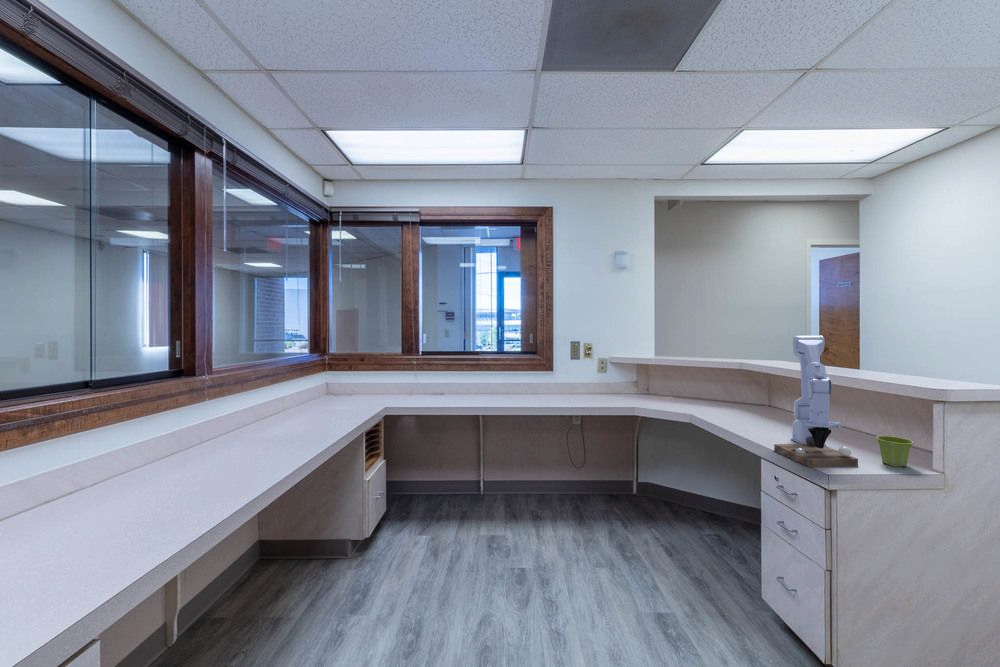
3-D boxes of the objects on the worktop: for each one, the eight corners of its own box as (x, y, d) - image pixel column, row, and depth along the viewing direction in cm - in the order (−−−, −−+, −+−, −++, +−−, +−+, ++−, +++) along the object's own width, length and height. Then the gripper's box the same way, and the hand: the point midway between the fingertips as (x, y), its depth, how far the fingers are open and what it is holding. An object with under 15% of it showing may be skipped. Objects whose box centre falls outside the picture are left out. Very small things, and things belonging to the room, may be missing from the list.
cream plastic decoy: (835, 455, 147) (835, 445, 146) (845, 454, 147) (845, 445, 146) (843, 458, 143) (843, 448, 143) (853, 458, 143) (853, 448, 143)
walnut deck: (774, 450, 160) (774, 444, 160) (817, 449, 160) (817, 443, 160) (808, 467, 142) (808, 459, 142) (857, 465, 142) (857, 458, 142)
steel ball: (796, 444, 153) (801, 451, 154) (790, 451, 153) (795, 458, 154) (805, 447, 150) (810, 454, 151) (799, 454, 150) (804, 461, 150)
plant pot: (875, 457, 150) (875, 434, 150) (911, 463, 144) (911, 438, 144) (876, 465, 143) (877, 440, 142) (915, 471, 137) (915, 445, 136)
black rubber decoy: (803, 444, 160) (803, 435, 159) (812, 443, 160) (812, 434, 159) (810, 446, 156) (810, 437, 156) (819, 446, 156) (819, 437, 156)
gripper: (807, 414, 147) (807, 451, 147) (848, 413, 147) (848, 450, 147) (793, 409, 154) (793, 445, 155) (832, 408, 154) (832, 444, 154)
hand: (819, 447), depth 151 cm, fingers closed
